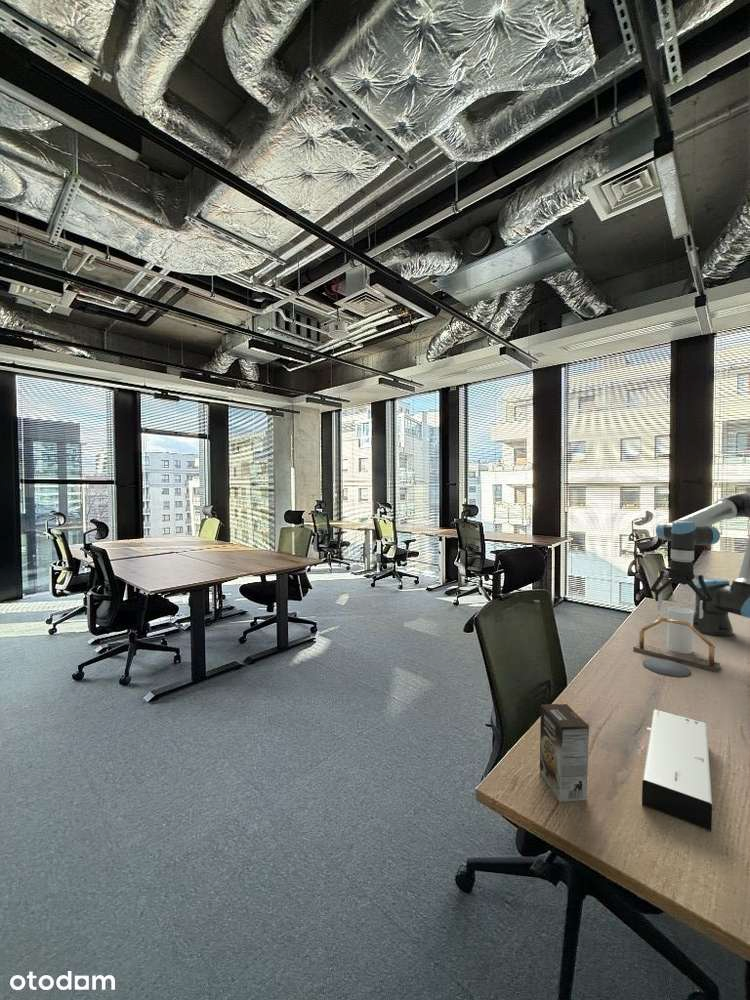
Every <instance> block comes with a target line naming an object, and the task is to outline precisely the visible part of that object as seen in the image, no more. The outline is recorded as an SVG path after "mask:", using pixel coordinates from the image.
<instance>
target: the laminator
mask: <svg viewBox="0 0 750 1000" xmlns="http://www.w3.org/2000/svg"><path fill="white" fill-rule="evenodd" d="M651 719H652V720H651V724H650V726H649V727H647V728H646V731H649V737H648V745H647V748H646V749H647V751H646V757H645V763H644V767H643V768H644V770H643V776H642V783H641V785H642V786H641V806H643V807H646V808H649V809H652V810H654V811H658V812H660V813H662V814H665V815H668V816H670V817H672V818H675V819H678V820H680V821H683V822H684V823H685V822H686V823H688V824H690V825H693V826H696V827H699V828H700V829H701V828H702V829H704V830H706V831H709V832H712V825H713V800H712V799H713V798H712V797H713V796H712V785H711V783H712V782H711V769H710V755H709V742H708V728H707V722H705V721H701V720H697V719H694V718H690V717H687V716H681V715H679V714H675V713H671V712H667V711H665V710H664V711H663V710H661V709H656V708H654V709H653V712H652V718H651Z"/></svg>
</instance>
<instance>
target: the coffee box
mask: <svg viewBox="0 0 750 1000" xmlns="http://www.w3.org/2000/svg"><path fill="white" fill-rule="evenodd" d="M539 724H540V725H539V726H540V728H539V729H540V734H539V737H540V740H539V746H540V747H539V775H541V777H542V778H543V780H544V782H545V783H546V785H547V786H548V788H549V789H550V790H551V792H552V793H553V795H554V796H555V797H556V799H557V800H558V802H561V803H562V802H580V801H587V800H588V797H587V795H588V794H587V793H588V767H589V765H588V763H589V741H590V740H589V737H590V736H589V735H590V734H589V733H590V725H589V724H587V722H585V720H583V718H582V717H580V716H579V715H578V714H577V713H576V712H575V710H573V709H572V708H571V707H570V706H569V705H568V704H567V703H564V704H563V703H561V704H559V703H548V704H540V723H539Z"/></svg>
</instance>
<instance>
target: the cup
mask: <svg viewBox="0 0 750 1000" xmlns="http://www.w3.org/2000/svg"><path fill="white" fill-rule="evenodd" d="M693 615H694V611H693V610H692V609H690V608H685V607H680V606H669V607H668V608H667V619H672V620H677V621H682V622H687V623H690V624H691V625H692V626H693ZM666 628H667V630H666V631H667V632H666V634H667V635H666V648H667V650H668V651H672V652H676V653H681V654H685V655H689V654H692V653H693V639H694V637H693V636H694V635H693V633H694V631H693V630H691V629H690V628H689V627H688V626H685V625H680V624H675V623H670V622H667V626H666Z"/></svg>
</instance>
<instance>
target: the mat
mask: <svg viewBox="0 0 750 1000" xmlns="http://www.w3.org/2000/svg"><path fill="white" fill-rule="evenodd" d="M642 665H643V667H645V668H646V669H647V670H649V671H651V672H654V673H656V674H660V675H663V676H668V677H678V678H679V677H680V678H682V677H688V676H690V675H691V670H690V668H688V667H687V666H686V665H685V664H683V663H679V662H675V661H671V660H667V659H663V658H659V657H656V658H654V657H650V658H649V657H648V658H646V659H643V660H642Z"/></svg>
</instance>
